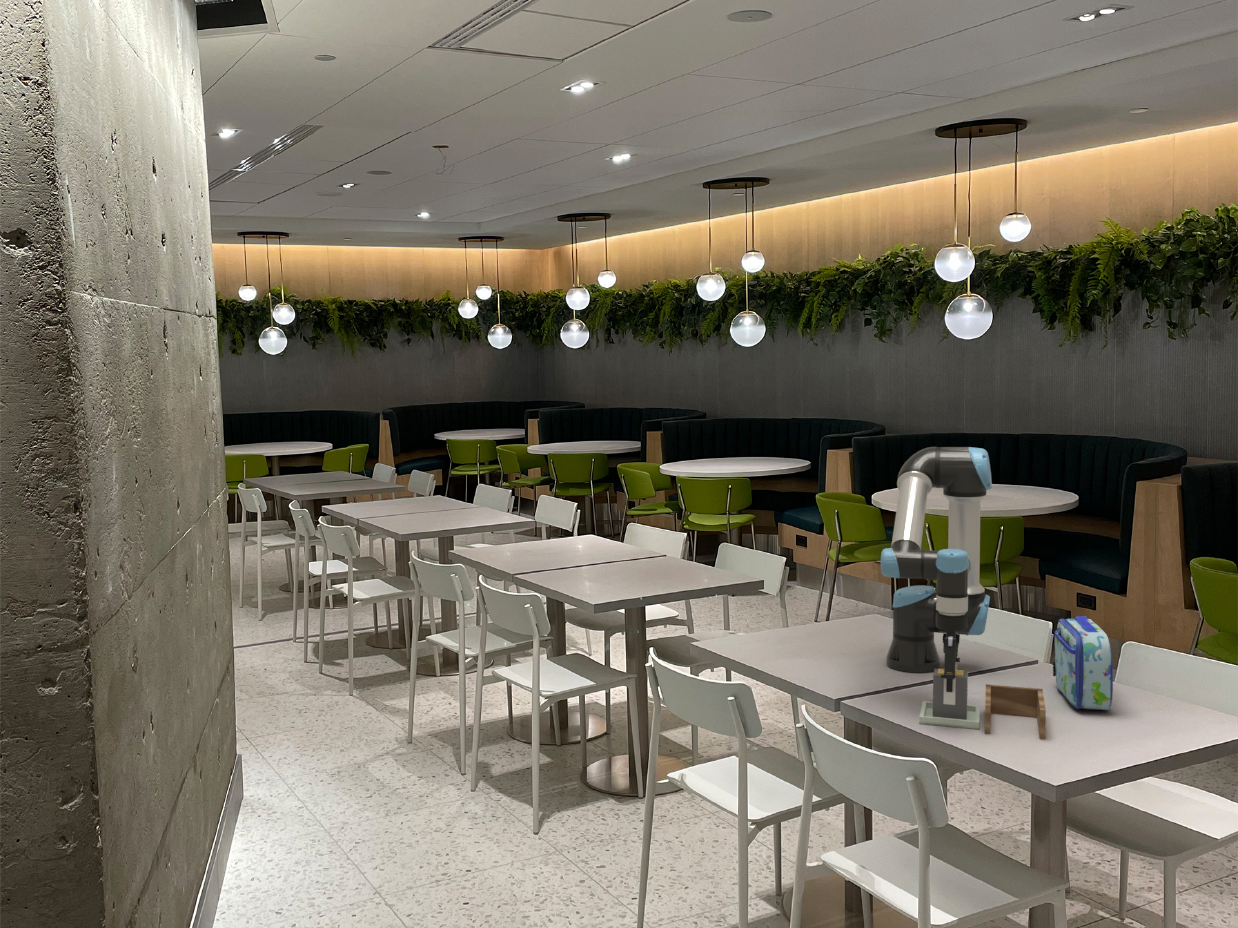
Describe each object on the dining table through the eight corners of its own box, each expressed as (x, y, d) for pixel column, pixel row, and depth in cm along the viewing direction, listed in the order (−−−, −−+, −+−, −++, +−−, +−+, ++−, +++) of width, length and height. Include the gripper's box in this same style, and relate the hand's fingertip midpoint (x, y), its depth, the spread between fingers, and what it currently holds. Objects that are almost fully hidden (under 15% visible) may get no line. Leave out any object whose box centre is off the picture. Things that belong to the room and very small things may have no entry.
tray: (922, 707, 274) (922, 700, 274) (979, 712, 270) (980, 705, 269) (919, 723, 262) (919, 716, 262) (979, 729, 257) (979, 722, 257)
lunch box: (1049, 684, 292) (1051, 609, 290) (1091, 686, 290) (1093, 610, 288) (1070, 714, 267) (1072, 633, 265) (1115, 717, 265) (1118, 634, 263)
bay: (985, 711, 271) (985, 684, 270) (1041, 716, 266) (1042, 688, 266) (984, 733, 255) (985, 704, 254) (1045, 739, 250) (1045, 710, 249)
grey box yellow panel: (934, 710, 270) (934, 666, 269) (967, 713, 267) (967, 669, 266) (932, 718, 264) (933, 673, 263) (966, 721, 262) (967, 676, 261)
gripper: (938, 600, 276) (937, 680, 278) (933, 622, 253) (932, 709, 255) (968, 602, 274) (967, 682, 276) (966, 624, 250) (964, 712, 252)
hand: (950, 695), depth 265 cm, fingers open, 13 cm apart
